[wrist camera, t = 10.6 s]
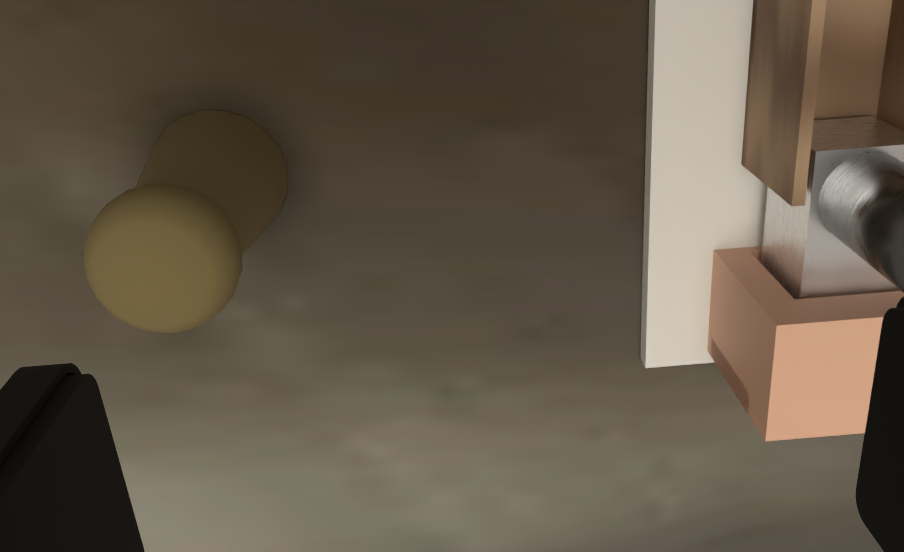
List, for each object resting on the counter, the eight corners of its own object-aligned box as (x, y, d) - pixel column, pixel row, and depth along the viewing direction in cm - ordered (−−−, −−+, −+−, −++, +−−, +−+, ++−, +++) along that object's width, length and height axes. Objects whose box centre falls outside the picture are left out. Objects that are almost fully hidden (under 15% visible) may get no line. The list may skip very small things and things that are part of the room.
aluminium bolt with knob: (773, 123, 36) (915, 216, 26) (871, 115, 36) (1052, 205, 26) (754, 332, 40) (871, 483, 30) (843, 325, 40) (990, 473, 30)
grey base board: (651, -75, 34) (657, -74, 34) (995, -101, 35) (1011, -101, 34) (640, 357, 43) (645, 368, 42) (918, 334, 43) (929, 344, 42)
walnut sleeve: (759, -81, 34) (819, -76, 29) (910, -93, 34) (998, -90, 29) (741, 164, 38) (791, 206, 33) (876, 153, 38) (947, 194, 33)
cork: (135, 116, 37) (31, 202, 27) (275, 102, 37) (224, 182, 27) (167, 246, 39) (83, 369, 29) (298, 233, 39) (260, 351, 29)
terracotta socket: (713, 249, 39) (776, 325, 33) (886, 236, 39) (985, 308, 33) (707, 350, 42) (765, 441, 35) (871, 337, 42) (960, 424, 35)
